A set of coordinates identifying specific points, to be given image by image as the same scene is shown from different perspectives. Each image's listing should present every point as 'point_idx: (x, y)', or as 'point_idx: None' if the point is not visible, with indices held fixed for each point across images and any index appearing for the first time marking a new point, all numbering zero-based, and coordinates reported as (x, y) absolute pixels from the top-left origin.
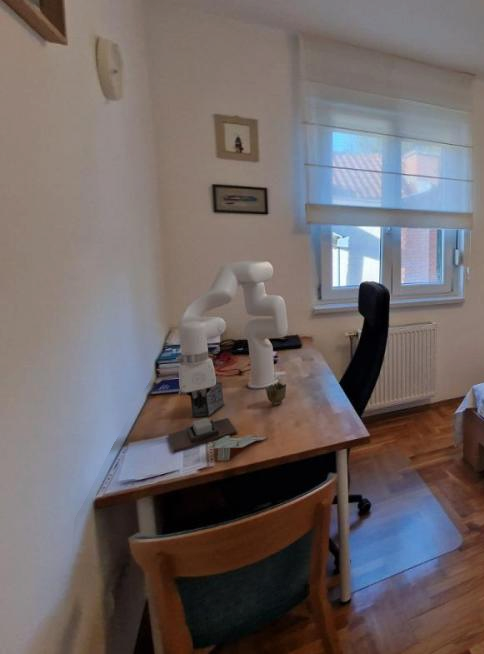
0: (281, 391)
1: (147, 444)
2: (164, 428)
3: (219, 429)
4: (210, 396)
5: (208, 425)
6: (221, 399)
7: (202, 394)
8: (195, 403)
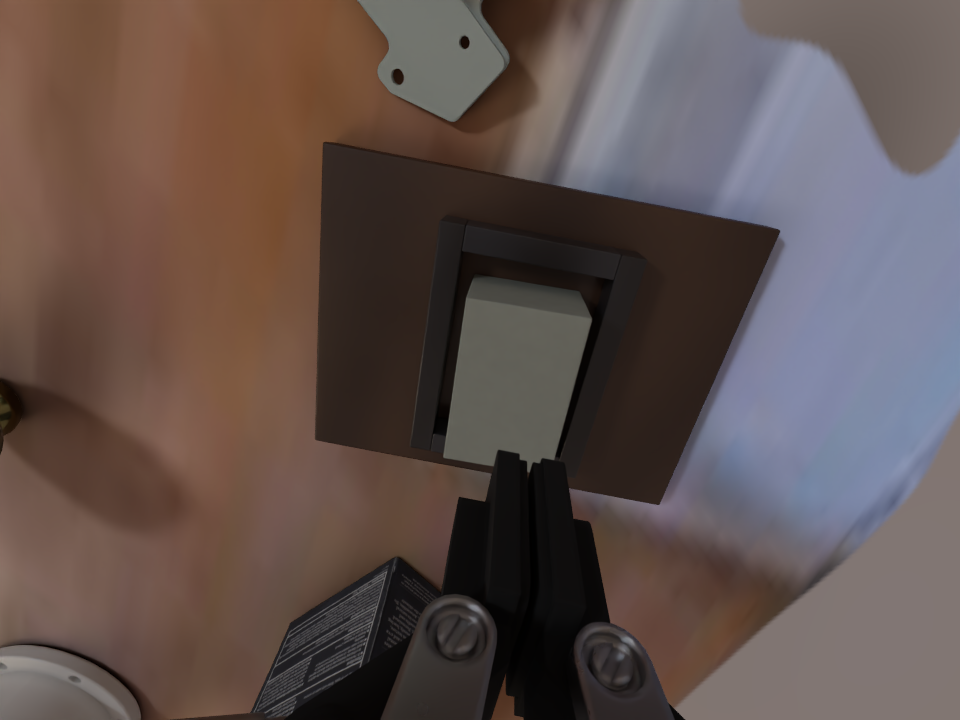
0: None
1: (771, 493)
2: (614, 600)
3: (413, 302)
4: None
5: (492, 300)
6: (281, 660)
7: (473, 654)
8: (585, 550)
